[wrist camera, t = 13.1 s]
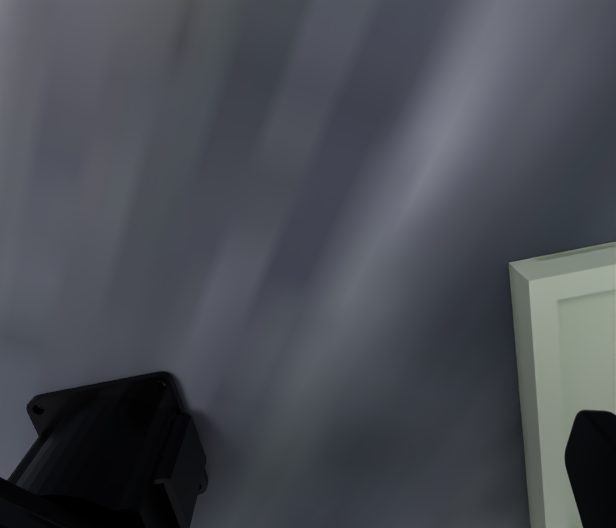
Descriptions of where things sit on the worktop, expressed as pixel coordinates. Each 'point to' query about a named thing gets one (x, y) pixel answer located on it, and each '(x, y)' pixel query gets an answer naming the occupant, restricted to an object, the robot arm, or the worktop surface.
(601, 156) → the worktop surface
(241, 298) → the worktop surface
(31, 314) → the worktop surface
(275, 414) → the worktop surface
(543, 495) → the tray
